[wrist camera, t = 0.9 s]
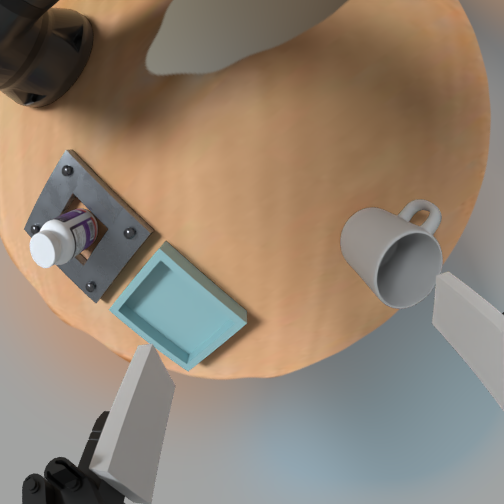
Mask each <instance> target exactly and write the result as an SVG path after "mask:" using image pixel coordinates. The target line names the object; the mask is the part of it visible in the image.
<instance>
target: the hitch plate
mask: <svg viewBox="0 0 504 504" xmlns="http://www.w3.org/2000/svg"><path fill="white" fill-rule="evenodd" d="M75 196H76V197H77V198H78V199H79V200H80V201H81V202H82V203H83V204H84V205H85V206H86V207H87V208H88V209H89V210H90V211H91V212H92V213H93V214H94V215H95V216H96V217H97V218H98V219H99V220H100V221H101V222H102V223H103V224H104V225H105V226H106V227H107V228H108V231H107V232H106V233H105V235H104V236H103V238H102V239H101V241H100V242H99V244H98V245H97V247H96V248H95V249H94V251H93V252H92V254H91V255H90V257H89V259H88V260H86V259H85V258H84V257H83V256H82V255H81V254H80V253H79V254H78V255H76V256H75V257H74V258H72V259H71V260H70V261H68V262H67V263H65V264H62V265H57V266H58V267H59V268H60V269H61V270H62V271H63V272H64V273H65V274H66V275H67V276H68V277H69V278H70V279H71V280H72V281H73V282H74V283H75V284H76V285H77V286H78V287H79V288H80V289H81V290H82V291H83V292H84V293H85V294H86V295H87V296H88V297H90V298H91V299H92V300H93V301H94V302H95V303H97V302H98V301H99V300H100V298H101V297H102V296H103V294H104V293H105V292H106V290H107V289H108V288H109V286H110V285H111V284H112V282H113V281H114V280H115V278H116V277H117V276H118V274H119V273H120V272H121V270H122V269H123V268H124V267H125V265H126V264H127V263H128V262H129V260H130V259H131V258H132V256H133V255H134V254H135V253H136V251H137V250H138V249H139V248H140V247H141V245H142V244H143V243H144V242H145V240H146V239H147V238H148V237H149V236H150V234H151V233H152V232H153V231H154V229H153V228H152V227H150V226H149V225H148V224H147V223H146V222H145V221H144V220H143V219H142V218H141V217H140V216H139V215H138V214H137V213H136V212H135V211H133V210H132V209H131V208H130V207H129V206H128V205H127V204H126V203H125V202H124V201H123V200H122V199H121V198H120V197H119V196H118V195H117V194H116V193H115V192H114V191H113V190H112V189H111V188H110V187H109V186H108V185H107V184H106V183H105V182H104V181H103V180H102V179H101V178H100V177H99V176H98V175H97V174H96V173H95V172H94V171H93V170H92V169H91V168H90V167H89V166H88V165H87V164H86V163H85V162H84V161H83V160H82V159H81V158H80V157H79V156H78V155H77V154H76V153H75V152H74V151H73V150H66V151H65V152H64V154H63V156H62V157H61V159H60V161H59V162H58V164H57V166H56V167H55V169H54V171H53V172H52V174H51V176H50V178H49V179H48V181H47V183H46V185H45V187H44V189H43V191H42V192H41V194H40V196H39V198H38V200H37V202H36V204H35V206H34V208H33V210H32V212H31V215H30V217H29V219H28V221H27V223H26V226H25V228H24V230H25V231H26V232H27V233H28V234H29V235H30V237H31V238H32V237H33V236H34V235H35V234H37V233H38V232H40V230H41V228H42V226H43V225H44V224H45V223H46V222H48V221H50V220H52V219H54V218H56V217H58V216H61V215H63V214H65V213H66V211H67V209H68V208H69V206H70V204H71V203H72V201H73V199H74V198H75Z"/></svg>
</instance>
